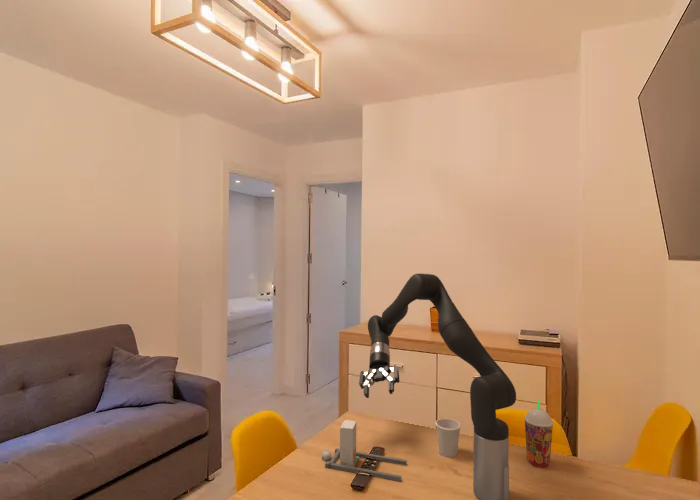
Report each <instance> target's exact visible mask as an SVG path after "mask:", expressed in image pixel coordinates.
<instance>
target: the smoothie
mask: <svg viewBox="0 0 700 500" xmlns="http://www.w3.org/2000/svg"><path fill="white" fill-rule="evenodd" d="M553 427H554V421H553V420H552V418H551V416H550V414H549V413H548V412H547V411H545V410H544V409H542V408H541V401H540V400H537V407H536V408H532V409H530V410H529V411H527V413H526V415H525V416H524V431H525V446H526V449H525V450H526V452H525V453H526V458H527V459H528V463H529V464H531V465H532V466H535V467H538V468H546V467H548V465H549V464H550V462H551V455H552V454H551V451H552V440H553Z"/></svg>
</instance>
